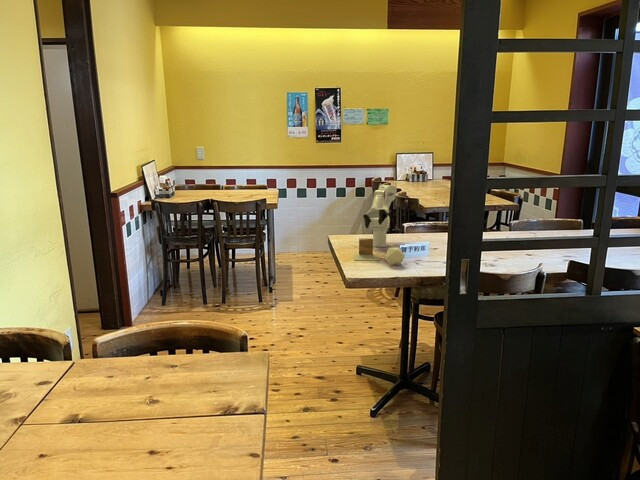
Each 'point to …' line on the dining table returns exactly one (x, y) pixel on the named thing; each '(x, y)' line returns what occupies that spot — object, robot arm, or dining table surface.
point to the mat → (366, 258)
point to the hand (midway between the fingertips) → (373, 225)
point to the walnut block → (365, 246)
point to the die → (394, 256)
